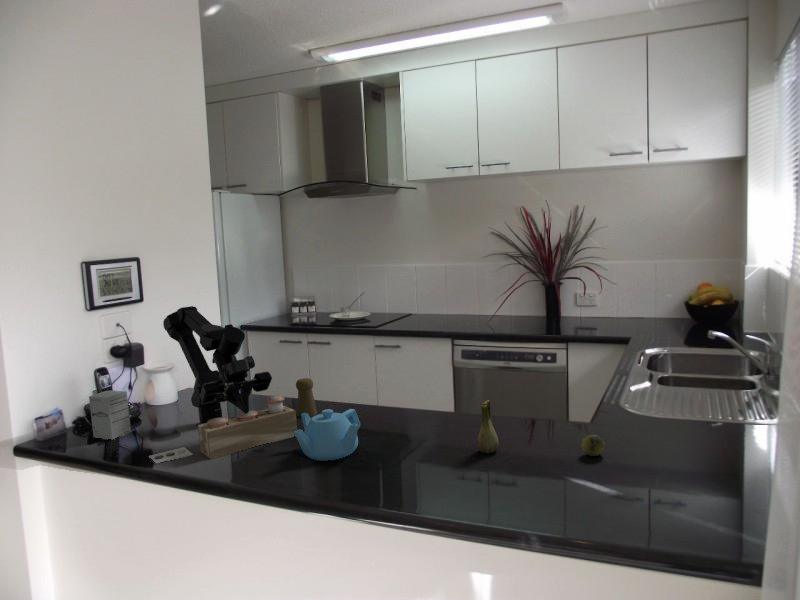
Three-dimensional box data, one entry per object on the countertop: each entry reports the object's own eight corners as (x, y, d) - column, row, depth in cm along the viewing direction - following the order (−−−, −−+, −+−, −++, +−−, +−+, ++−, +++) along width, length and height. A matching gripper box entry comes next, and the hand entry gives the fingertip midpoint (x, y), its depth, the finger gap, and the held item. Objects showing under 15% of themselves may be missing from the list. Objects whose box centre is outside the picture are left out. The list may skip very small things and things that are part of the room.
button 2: (263, 416, 170) (261, 398, 169) (280, 412, 173) (279, 394, 172) (271, 420, 166) (269, 402, 165) (289, 416, 169) (287, 398, 168)
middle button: (236, 432, 166) (234, 413, 165) (254, 427, 169) (252, 409, 168) (243, 436, 161) (241, 417, 161) (262, 431, 164) (260, 413, 164)
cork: (313, 417, 186) (310, 381, 184) (294, 417, 187) (290, 381, 186) (319, 411, 191) (316, 376, 190) (301, 411, 193) (298, 376, 192)
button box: (200, 451, 162) (197, 425, 161) (285, 429, 175) (282, 405, 175) (210, 458, 155) (208, 431, 154) (297, 435, 169) (295, 410, 168)
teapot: (360, 461, 147) (357, 417, 145) (296, 466, 146) (293, 422, 145) (362, 440, 162) (358, 400, 161) (303, 445, 161) (300, 404, 160)
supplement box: (92, 439, 179) (87, 396, 177) (113, 431, 185) (108, 389, 184) (112, 440, 176) (106, 397, 174) (132, 432, 183) (127, 390, 181)
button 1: (206, 439, 161) (204, 420, 160) (225, 434, 164) (224, 416, 163) (213, 444, 157) (211, 424, 156) (233, 439, 160) (231, 420, 159)
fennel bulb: (488, 446, 151) (485, 397, 150) (504, 450, 148) (502, 400, 146) (473, 453, 147) (470, 403, 146) (489, 457, 143) (487, 406, 142)
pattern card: (148, 457, 159) (148, 455, 159) (184, 448, 165) (183, 446, 165) (156, 464, 154) (155, 462, 154) (192, 455, 159) (192, 452, 159)
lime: (578, 455, 141) (578, 433, 141) (595, 451, 143) (595, 430, 142) (592, 461, 137) (591, 439, 136) (609, 457, 139) (608, 435, 138)
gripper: (199, 353, 162) (218, 402, 154) (266, 342, 172) (287, 387, 165) (192, 378, 169) (210, 427, 161) (257, 366, 180) (277, 411, 172)
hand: (247, 412), depth 164 cm, fingers closed, pressing on middle button
